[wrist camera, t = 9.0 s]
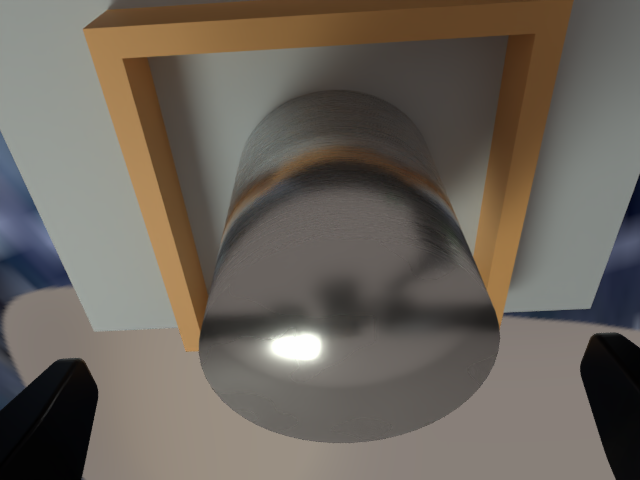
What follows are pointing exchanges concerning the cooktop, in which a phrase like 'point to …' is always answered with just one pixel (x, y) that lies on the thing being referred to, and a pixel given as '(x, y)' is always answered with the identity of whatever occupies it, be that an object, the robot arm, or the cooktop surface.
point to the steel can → (344, 279)
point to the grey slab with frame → (303, 78)
